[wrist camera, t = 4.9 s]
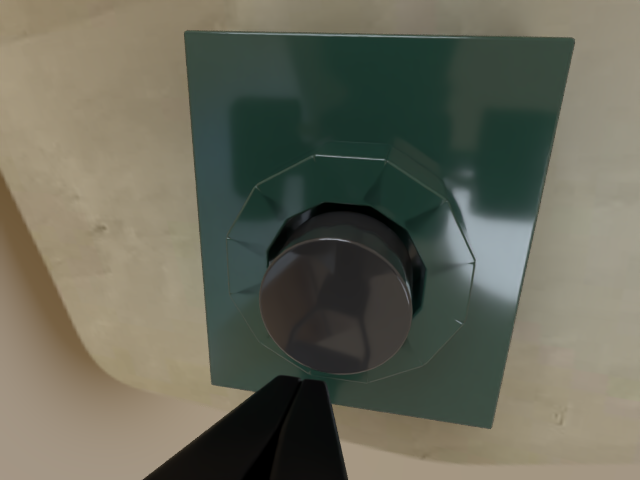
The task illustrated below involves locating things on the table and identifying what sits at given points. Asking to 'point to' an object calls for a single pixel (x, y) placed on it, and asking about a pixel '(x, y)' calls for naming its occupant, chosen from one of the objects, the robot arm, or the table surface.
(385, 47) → the push button box
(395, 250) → the dark grey push button
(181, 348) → the table surface
